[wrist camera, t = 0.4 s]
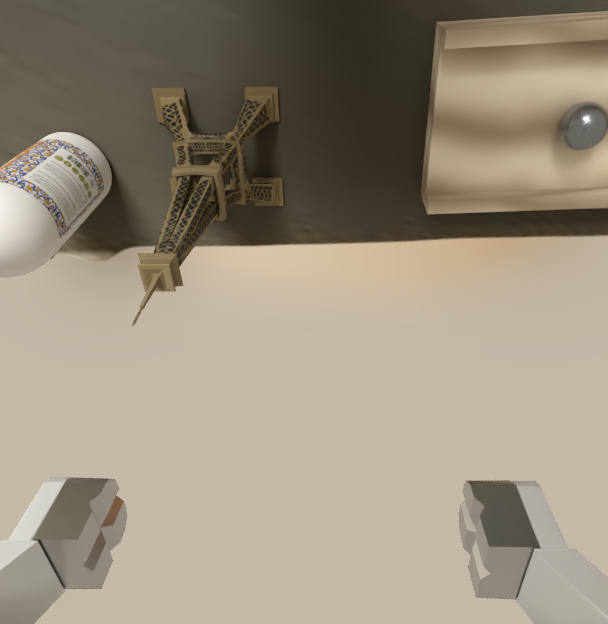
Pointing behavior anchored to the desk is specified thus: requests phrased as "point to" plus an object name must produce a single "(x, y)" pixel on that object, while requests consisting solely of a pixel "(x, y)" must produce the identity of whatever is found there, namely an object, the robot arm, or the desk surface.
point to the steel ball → (583, 126)
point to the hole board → (514, 114)
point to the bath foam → (48, 199)
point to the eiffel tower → (205, 181)
